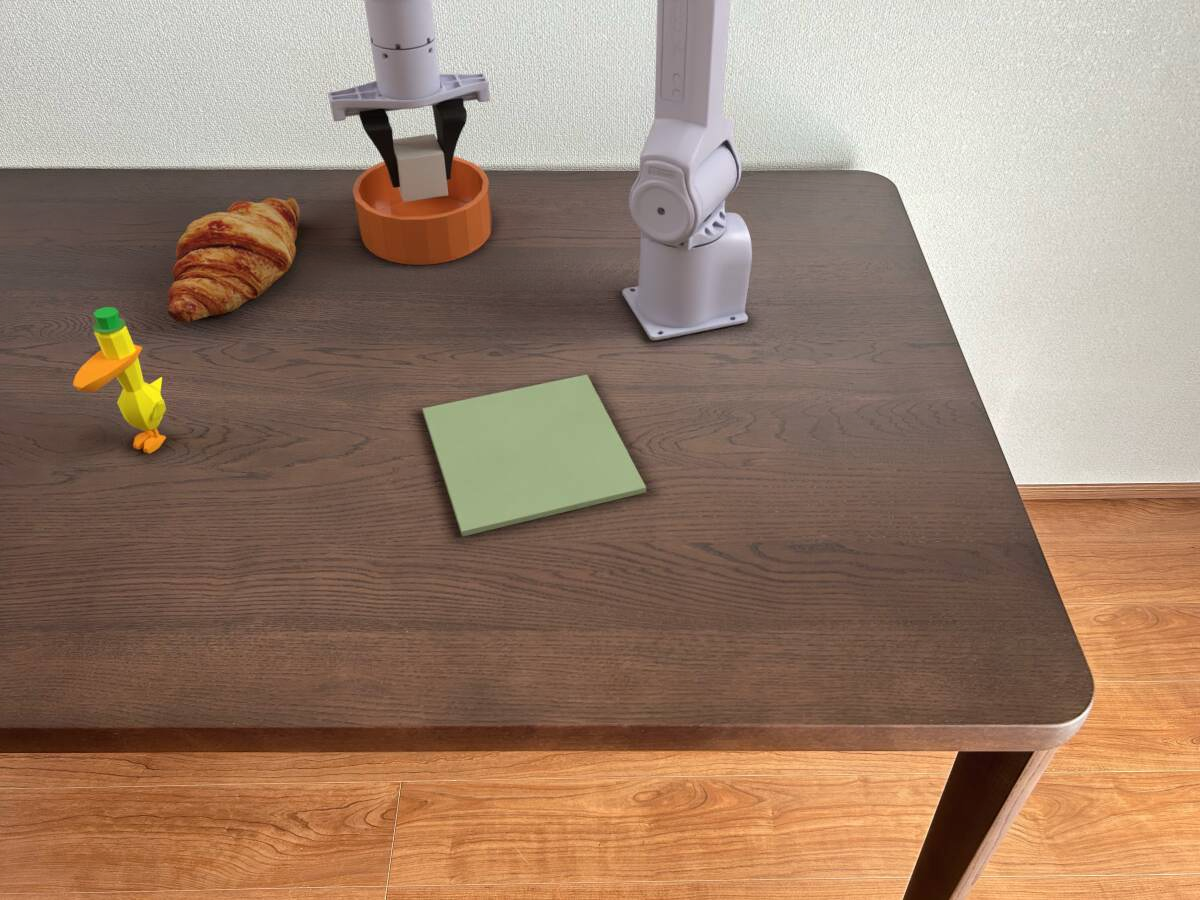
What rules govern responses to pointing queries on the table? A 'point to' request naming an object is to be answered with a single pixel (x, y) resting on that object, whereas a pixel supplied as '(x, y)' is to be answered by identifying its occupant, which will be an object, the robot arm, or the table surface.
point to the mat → (529, 454)
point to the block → (420, 167)
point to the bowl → (424, 216)
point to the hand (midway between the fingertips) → (420, 178)
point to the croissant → (232, 257)
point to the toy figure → (124, 378)
